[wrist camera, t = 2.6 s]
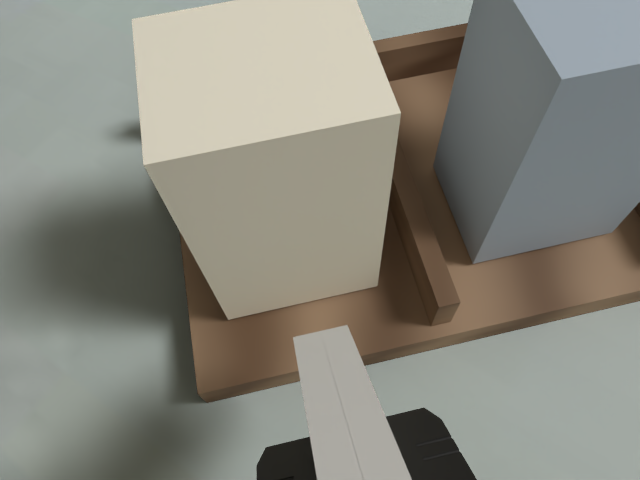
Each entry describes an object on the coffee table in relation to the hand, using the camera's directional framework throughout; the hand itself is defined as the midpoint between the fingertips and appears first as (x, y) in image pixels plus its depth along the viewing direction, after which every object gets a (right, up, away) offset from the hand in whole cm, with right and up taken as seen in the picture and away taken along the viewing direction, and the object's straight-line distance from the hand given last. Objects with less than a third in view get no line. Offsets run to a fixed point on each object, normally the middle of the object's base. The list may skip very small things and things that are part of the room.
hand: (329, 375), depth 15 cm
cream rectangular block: (-1, +3, +8) cm, 8 cm away
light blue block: (+8, +5, +8) cm, 13 cm away
